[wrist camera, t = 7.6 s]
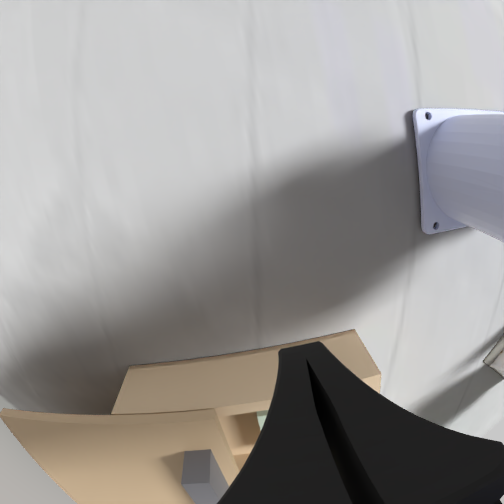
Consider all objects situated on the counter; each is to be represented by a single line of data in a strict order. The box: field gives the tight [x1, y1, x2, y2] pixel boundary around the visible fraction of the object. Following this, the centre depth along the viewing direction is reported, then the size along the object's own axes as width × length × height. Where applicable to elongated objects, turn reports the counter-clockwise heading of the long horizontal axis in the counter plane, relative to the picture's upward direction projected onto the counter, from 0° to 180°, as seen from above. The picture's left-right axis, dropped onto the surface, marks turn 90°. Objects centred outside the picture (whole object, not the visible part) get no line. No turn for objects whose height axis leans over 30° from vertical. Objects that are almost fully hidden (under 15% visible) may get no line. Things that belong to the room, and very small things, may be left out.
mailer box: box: [111, 329, 381, 471], centre depth 21 cm, size 16×12×5 cm
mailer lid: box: [0, 408, 240, 504], centre depth 17 cm, size 16×12×3 cm
